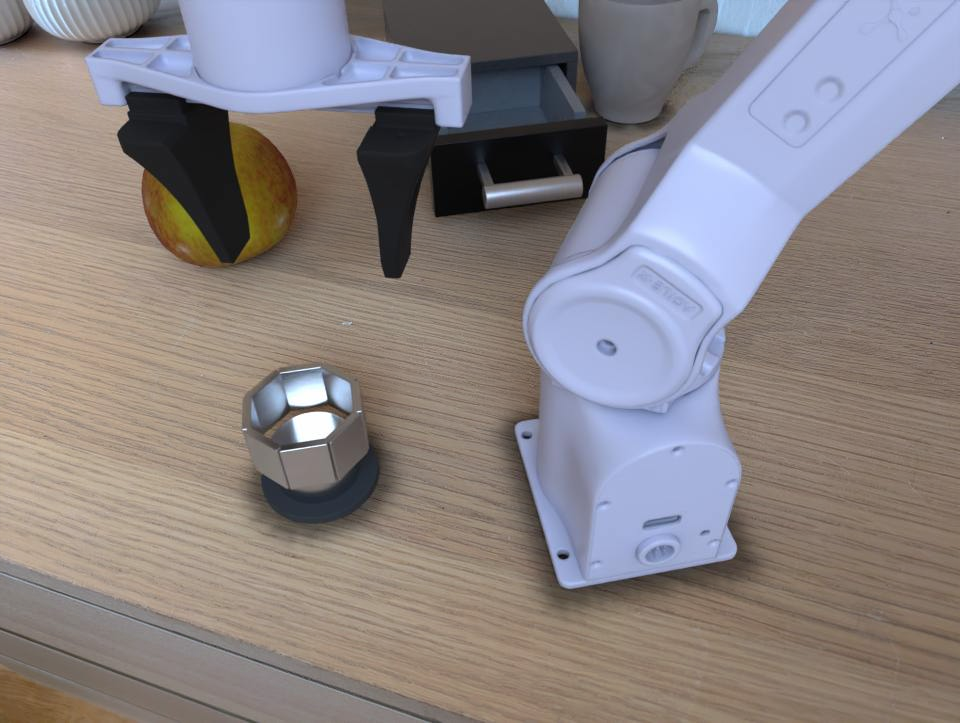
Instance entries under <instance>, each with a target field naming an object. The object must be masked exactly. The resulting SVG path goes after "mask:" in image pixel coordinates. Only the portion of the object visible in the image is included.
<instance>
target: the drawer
mask: <svg viewBox="0 0 960 723" xmlns="http://www.w3.org/2000/svg"><path fill="white" fill-rule="evenodd" d="M471 85H472V105H471V108H470V110H469V114H468V116H467V119H466V120H465V123H464V125H463V127H462V128H454V127H441V128H440V131H439V133H438V136H437V138H436V141H435V144H434V147H433V149H432V152H431V155H430V158H429V161H428V164H429V165H428V166H429V177H430V180H429V181H430V190H431V192H430V193H431V202H432V203H431V204H432V211H433V214H434V217H435V219H438V218H445V217H453V216H460V215H469V214H475V213H484V212H492V211H498V210H507V209H514V208H515V209H516V208H523V207H531V206H538V205H545V204H546V205H547V204H555V203H561V202H570V201H577V200H585V199H586V200H587V198H588V196H589V190H590V188H591V185H592V182H593V180H594V177H595V175H596V173H597V171H598V170H599V168H600V166H601V165H602V164H603V163H604V161H605V160H606V151H607V142H608V141H607V139H608V128H609V124H608V123H607V121H606V119H605V118H603V116H600V115H599V116H593V117H587V110H586V108H585V107H584V105H583V103H582V102H581V100H580V99H579V97H578V95H577V93H576V94H575V92H574V90H573V89H572V87H571V85H570V84H569V82H568V81H567V79H566V77H565V76H564V74H563V72H562V71H561V69H560V67H559V66H558V64H550V65H541V66H531V67H522V68H513V69H504V70H494V71H485V72H476V73H471Z"/></svg>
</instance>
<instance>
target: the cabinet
mask: <svg viewBox="0 0 960 723" xmlns="http://www.w3.org/2000/svg"><path fill="white" fill-rule="evenodd" d="M381 5H382V13H383V14H382V15H383V23H384V31H385V33H384V34H385V42H389V43H393V44H398V45H402V46H407V47H411V48H416V49H420V50H425V51H431V52H437V53H444V54H454V55H468V56H470V57H471V73H476V72H485V71H494V70H504V69H513V68H522V67H531V66H541V65H550V64H558V66H559V67H560V69H561V71H562V72H563V74H564V76H565V77H566V79H567V81H568V82H569V84H570V85H571V87H572V89H573V90H574V92H575V94H576V95H577V82H578V81H577V80H578V67H579V66H578V64H579V63H578V61H579V49H578V48H577V47H576V45H575V44H574V42H573V40H571V38H570V36H569V35H568V33H567V32H566V30H565V29H564V28H563V26H562V24H561V23H560V21H559V20H558V18H557V17H556V16H555V14H554V13H553V11H552V10H551V8H550V7H549V5H548V3H547V2H546V0H381Z"/></svg>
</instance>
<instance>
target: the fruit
mask: <svg viewBox="0 0 960 723" xmlns="http://www.w3.org/2000/svg"><path fill="white" fill-rule="evenodd" d="M229 126H230V136H231V144H232V151H233V158H234V165H235V169H236V174H237V177H238V181H239V185H240V189H241V192H242V196H243V200H244V203H245V207H246V211H247V215H248V221H249V229H250V239H249V241H248V243H247V244H246V246H245V247H244V249H243V250H242V252H241V253H240V255H239V256H238V258H237V259H236V261H235V262H234V264H230V263H221V262H220V260H219V259H218V257H217V256H216V254H215V253H214V251H213V250H212V248H211V247H210V245H209V243H208V242H207V240H206V239H205V237H204V236H203V234H202V233H201V231H200V230H199V229H198V227H197V226H196V224H195V223H194V221H193V220H192V219H191V217H190V216H189V215H188V213H187V212H186V211H185V210H184V208H183V207H182V206H181V205H180V203H179V202H178V201H177V200H176V199H175V198H174V196H173V195H172V194H171V193H170V192H169V191H168V190H167V189H166V188H165V187H164V186H163V185H162V184H161V183H160V182H159V181H158V180H157V179H156V178H155V177H154V176H153V175H152V174H150V173H149V172H148V171H147V170H146V169H145V168H143V172H142V177H141V178H142V179H141V200H142V206H143V210H144V215H145V216H146V219H147V222H148V225H149V227H150V228H151V231H152V232H153V233H154V235H155V237H156V238H157V240H158V241H159V242H160V244H161V245H162V246H163V247H164V248H165V249H166V250H167V251H169V252H170V253H171V254H173V255H174V257H176V258H178V259H179V260H181V261H183V262H185V263H188V264H192V265H195V266H199V267H205V268H206V267H208V268H213V267H214V268H215V267H227V266H232V265H236V264H239V263H243V262H245V261H247V260H249V259H252V258H254V257H256V256H259V255H261V254H262V253H264V252H267V251H268V250H270V249H271V248H273V247H274V246H275V245H276V244H278V243H279V242H280V241H282V239H283V238H284V236H285V235H286V234H287V233H288V232H289V230H290V229H291V226H292V224H293V222H294V220H295V218H296V214H297V210H298V188H297V183H296V179H295V175H294V174H293V171H292V168H291V166H290V165H289V163H288V161H287V159H286V158H285V156H284V155H283V154H282V152H281V151H280V149H279V148H278V147H277V146H276V145H275V144H274V143H273V142H272V140H270V139H269V138H268V137H267V136H266V135H264V134H263V133H261V132H260V131H259V130H257V129H255V128H253V127H251V126H249V125H246V124H245V123H244V124H243V123H240V122H235V121H230V120H229Z"/></svg>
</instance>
